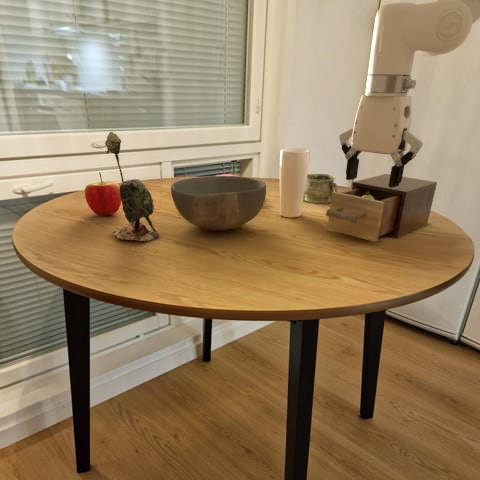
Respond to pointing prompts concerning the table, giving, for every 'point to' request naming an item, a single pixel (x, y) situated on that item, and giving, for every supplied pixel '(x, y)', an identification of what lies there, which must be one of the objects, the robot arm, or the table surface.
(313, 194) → the vessel
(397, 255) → the table surface
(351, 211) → the drawer
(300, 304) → the table surface
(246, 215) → the bowl
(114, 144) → the stone bird figurine
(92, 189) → the apple
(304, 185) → the drinking glass
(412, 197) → the cabinet
